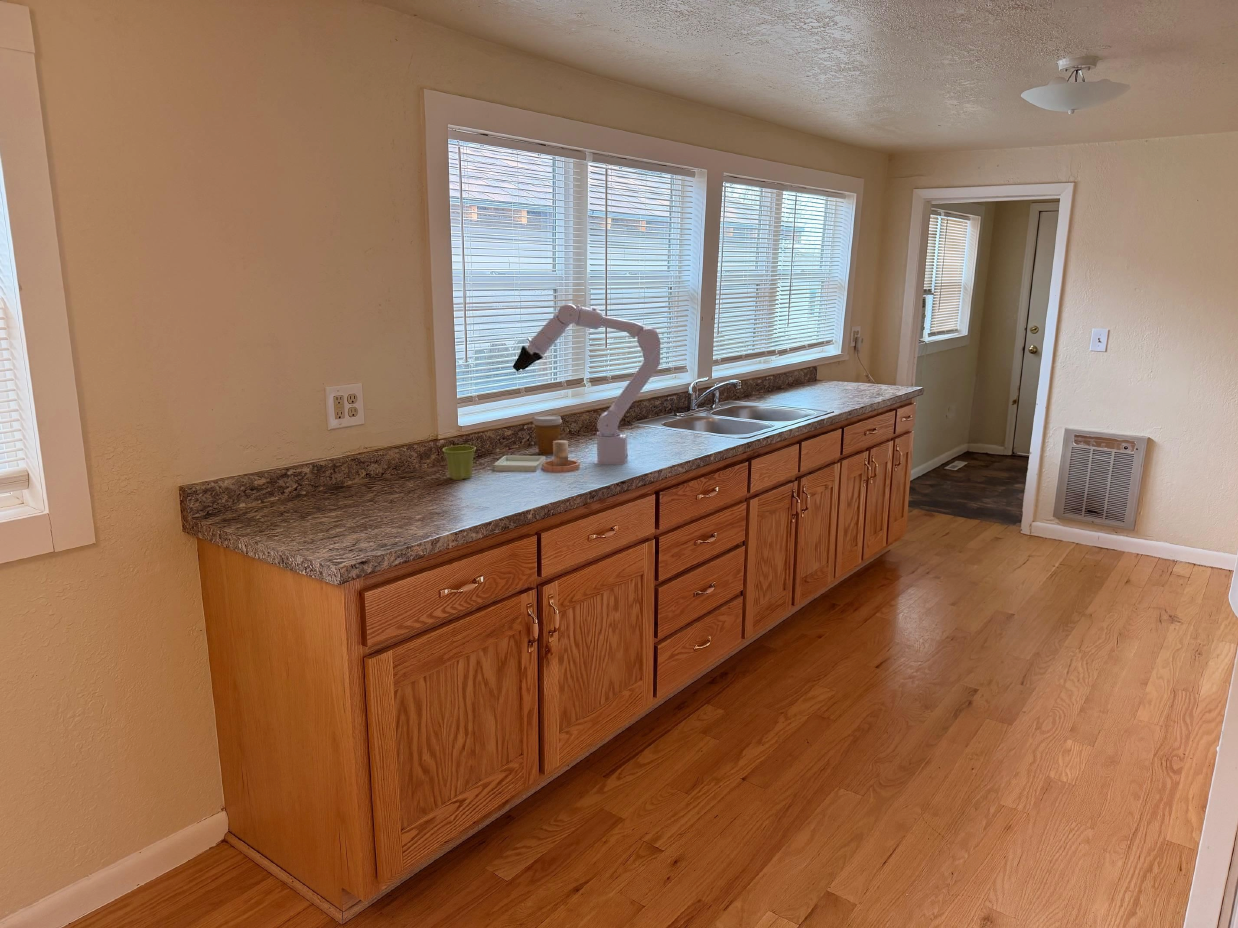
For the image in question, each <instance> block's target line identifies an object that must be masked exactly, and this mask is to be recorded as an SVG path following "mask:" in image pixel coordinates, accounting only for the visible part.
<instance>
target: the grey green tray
mask: <svg viewBox="0 0 1238 928" xmlns="http://www.w3.org/2000/svg"><path fill="white" fill-rule="evenodd" d="M546 457H547V456H546V455H503V457H501V458H500V459H499V460H497V461H496V462H494V463H493V464H492V471H493V472H537V471H539V469H540V468H542V463H543V462H545V461H547V458H546Z"/></svg>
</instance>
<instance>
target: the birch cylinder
mask: <svg viewBox="0 0 1238 928" xmlns="http://www.w3.org/2000/svg"><path fill="white" fill-rule="evenodd" d="M552 456H553V459H552V460H553V461H554V466H568V459H569V442H568V440H560V439H559V441H553V455H552Z"/></svg>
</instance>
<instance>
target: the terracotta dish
mask: <svg viewBox="0 0 1238 928" xmlns="http://www.w3.org/2000/svg"><path fill="white" fill-rule="evenodd" d="M580 468H581V463H580V461H578V460H574V459H569V458H568V466H554V461H553V459H550V460H546V461H545V462H543V463H542V466H541V470H543V471H545V472H548V473H549V472H550V473H565V472H566V473H567V472H568V473H569V472H575V471H578V470H579V469H580Z"/></svg>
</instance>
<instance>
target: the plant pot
mask: <svg viewBox="0 0 1238 928" xmlns="http://www.w3.org/2000/svg"><path fill="white" fill-rule="evenodd" d="M476 449H477V447H476V446H474V445H466V444H465V445H463V444H462V445H461V444H460V445H450V446H446V447H443V448H442V452H443V454H444V457H445V459H446V465H447V468H448V474H449V478H450V479H452V480H455V481H456V480H457V481H462V480H463V479H466V480H467V479H471V478H472V474H473V461H474V455H475V451H476Z"/></svg>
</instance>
